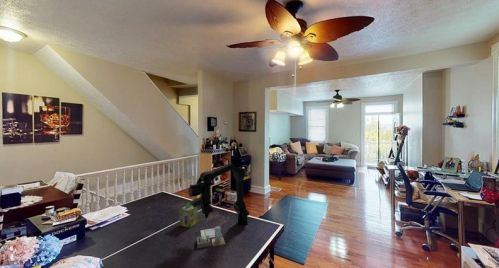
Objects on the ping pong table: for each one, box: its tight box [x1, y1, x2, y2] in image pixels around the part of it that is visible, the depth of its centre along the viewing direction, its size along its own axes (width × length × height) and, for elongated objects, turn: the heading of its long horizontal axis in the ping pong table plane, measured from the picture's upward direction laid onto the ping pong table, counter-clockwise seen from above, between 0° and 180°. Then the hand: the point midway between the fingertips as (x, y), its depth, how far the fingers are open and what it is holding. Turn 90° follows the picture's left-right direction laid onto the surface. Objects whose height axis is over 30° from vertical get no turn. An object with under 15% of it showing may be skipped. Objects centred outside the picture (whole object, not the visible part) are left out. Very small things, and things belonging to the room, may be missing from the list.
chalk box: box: [178, 201, 199, 229], centre depth 140 cm, size 9×9×15 cm
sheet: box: [200, 227, 223, 239], centre depth 128 cm, size 12×10×1 cm
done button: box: [199, 236, 207, 243], centre depth 117 cm, size 4×4×3 cm
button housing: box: [196, 235, 211, 249], centre depth 117 cm, size 7×7×2 cm
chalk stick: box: [214, 226, 222, 243], centre depth 119 cm, size 4×4×8 cm
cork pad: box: [210, 236, 226, 247], centre depth 119 cm, size 7×7×1 cm
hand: (206, 218), depth 124 cm, fingers closed
